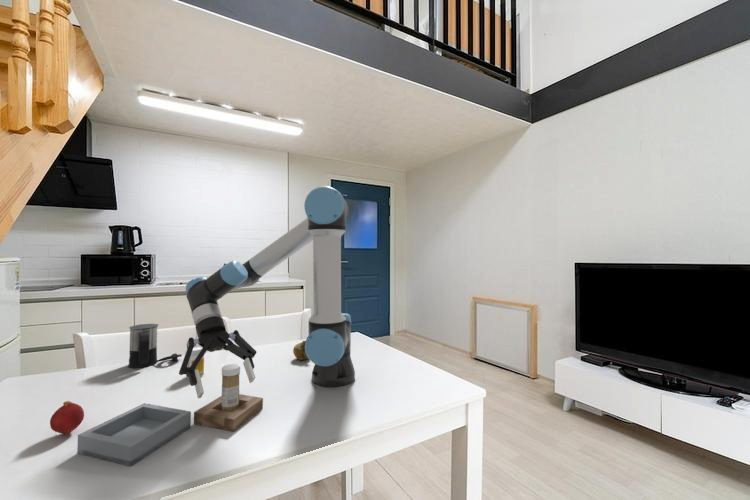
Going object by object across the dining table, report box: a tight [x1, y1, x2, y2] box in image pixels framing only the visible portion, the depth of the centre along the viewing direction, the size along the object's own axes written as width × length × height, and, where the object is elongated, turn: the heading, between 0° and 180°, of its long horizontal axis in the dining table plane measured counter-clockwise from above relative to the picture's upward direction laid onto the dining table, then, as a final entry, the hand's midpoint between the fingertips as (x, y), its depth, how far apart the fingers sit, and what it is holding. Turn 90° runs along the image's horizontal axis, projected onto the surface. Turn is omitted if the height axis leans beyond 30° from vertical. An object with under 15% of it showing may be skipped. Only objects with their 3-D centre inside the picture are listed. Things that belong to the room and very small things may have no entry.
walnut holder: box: [193, 393, 264, 432], centre depth 85 cm, size 12×12×3 cm
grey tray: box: [76, 402, 192, 467], centre depth 74 cm, size 15×15×4 cm
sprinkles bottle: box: [221, 363, 241, 412], centre depth 85 cm, size 5×5×14 cm
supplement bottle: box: [185, 346, 205, 380], centre depth 111 cm, size 5×5×10 cm
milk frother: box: [127, 323, 183, 369], centre depth 123 cm, size 14×16×15 cm
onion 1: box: [49, 400, 85, 436], centre depth 75 cm, size 6×6×8 cm
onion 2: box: [292, 340, 309, 361], centre depth 131 cm, size 8×8×8 cm
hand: (228, 387), depth 85 cm, fingers open, 13 cm apart
